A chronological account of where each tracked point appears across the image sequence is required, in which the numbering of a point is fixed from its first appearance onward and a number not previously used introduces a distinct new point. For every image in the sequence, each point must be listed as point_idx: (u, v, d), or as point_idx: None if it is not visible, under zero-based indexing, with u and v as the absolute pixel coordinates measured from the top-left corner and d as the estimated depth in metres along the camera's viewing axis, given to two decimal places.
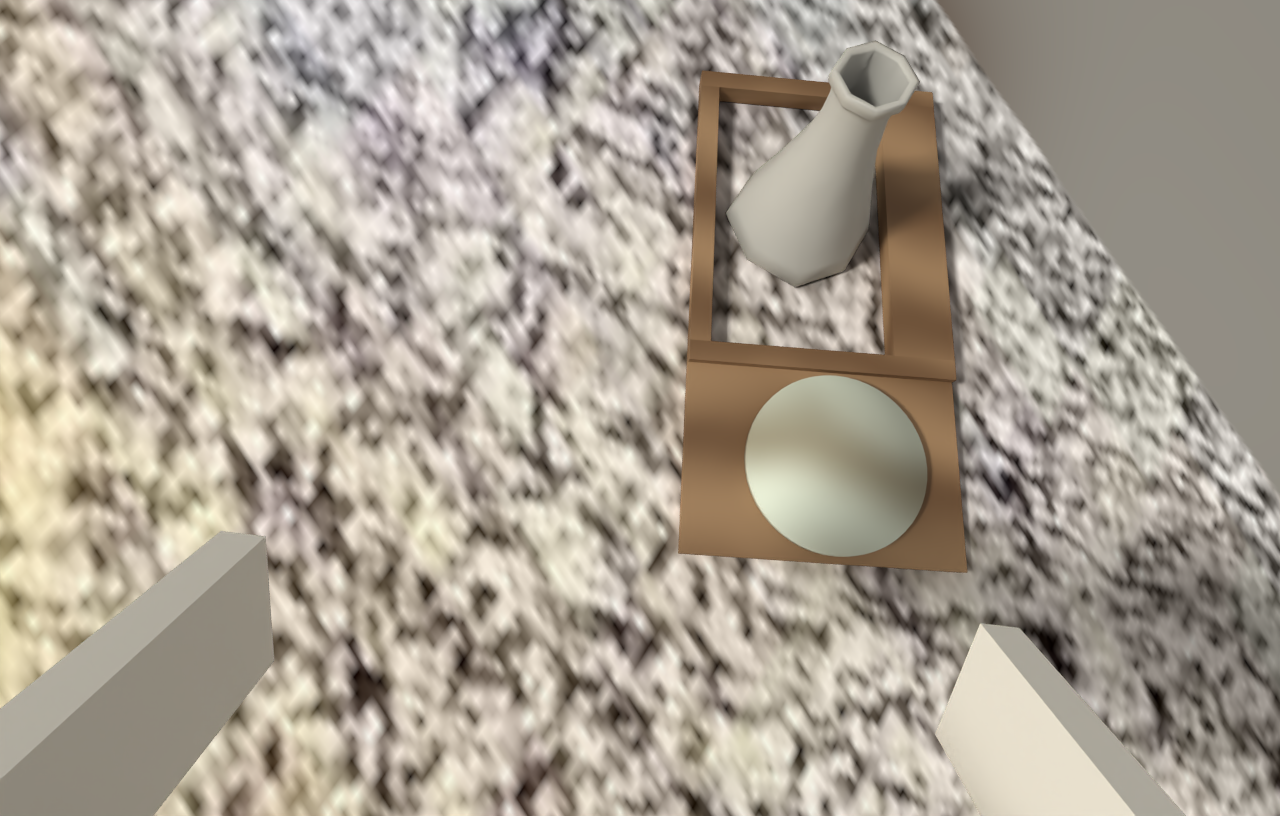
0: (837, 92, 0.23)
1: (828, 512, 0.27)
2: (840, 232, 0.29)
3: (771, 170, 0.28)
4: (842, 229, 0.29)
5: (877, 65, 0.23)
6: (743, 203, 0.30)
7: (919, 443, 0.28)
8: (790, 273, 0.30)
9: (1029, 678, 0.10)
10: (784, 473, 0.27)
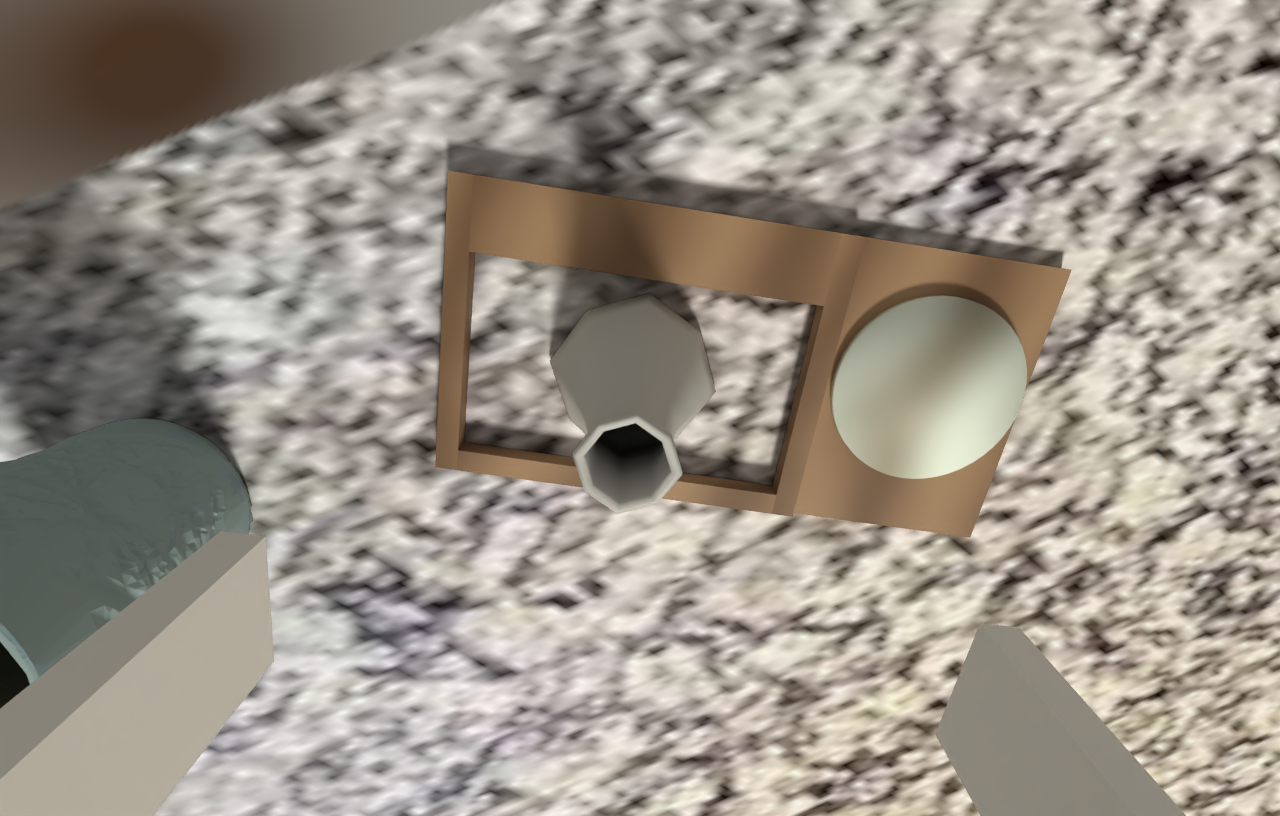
0: (641, 503, 0.19)
1: (976, 409, 0.27)
2: (688, 372, 0.24)
3: (621, 458, 0.24)
4: (687, 371, 0.24)
5: None
6: (625, 452, 0.27)
7: (931, 300, 0.25)
8: (706, 402, 0.27)
9: (1028, 677, 0.10)
10: (927, 445, 0.27)
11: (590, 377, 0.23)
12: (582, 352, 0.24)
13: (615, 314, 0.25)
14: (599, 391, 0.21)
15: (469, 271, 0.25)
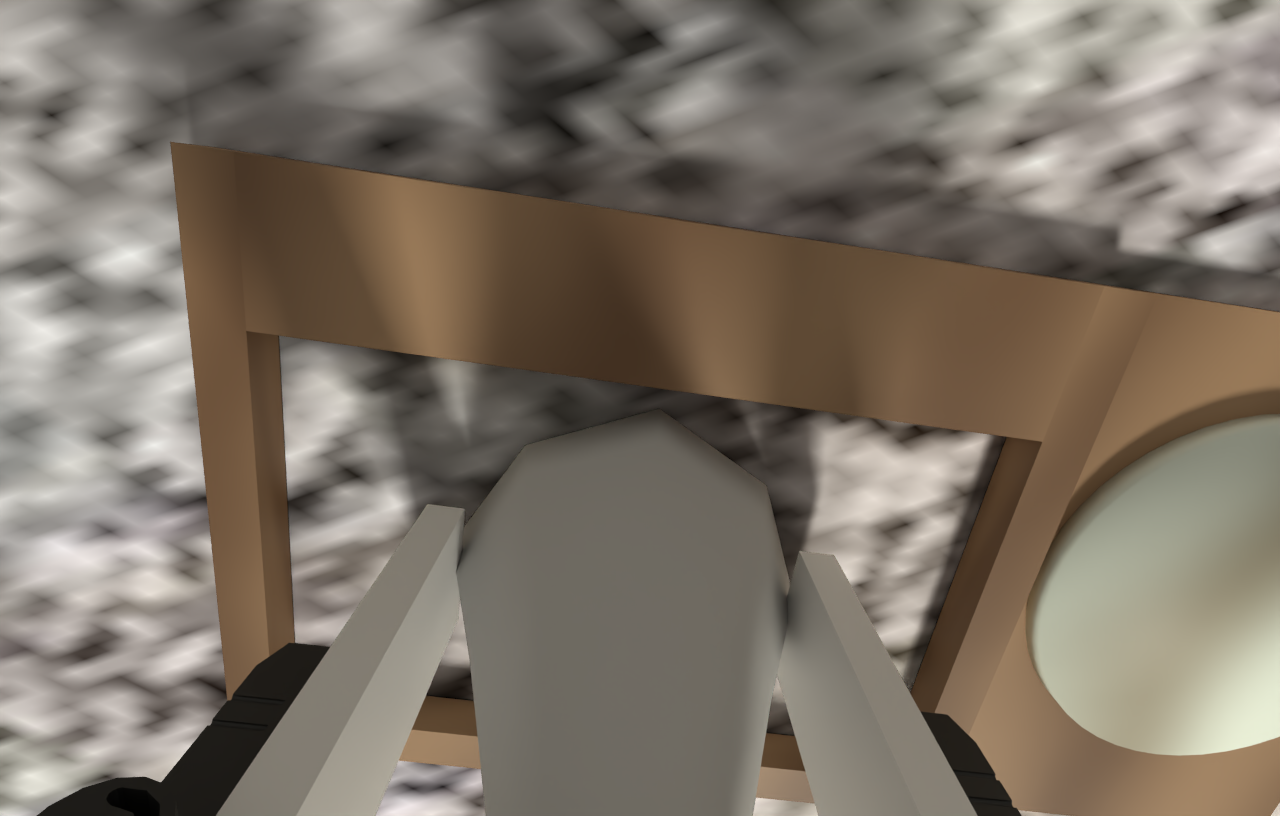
0: None
1: None
2: (754, 611, 0.11)
3: None
4: (751, 612, 0.10)
5: None
6: None
7: None
8: None
9: (821, 590, 0.11)
10: (1218, 699, 0.14)
11: (514, 676, 0.09)
12: (506, 567, 0.11)
13: (584, 464, 0.11)
14: (529, 766, 0.07)
15: (257, 372, 0.11)
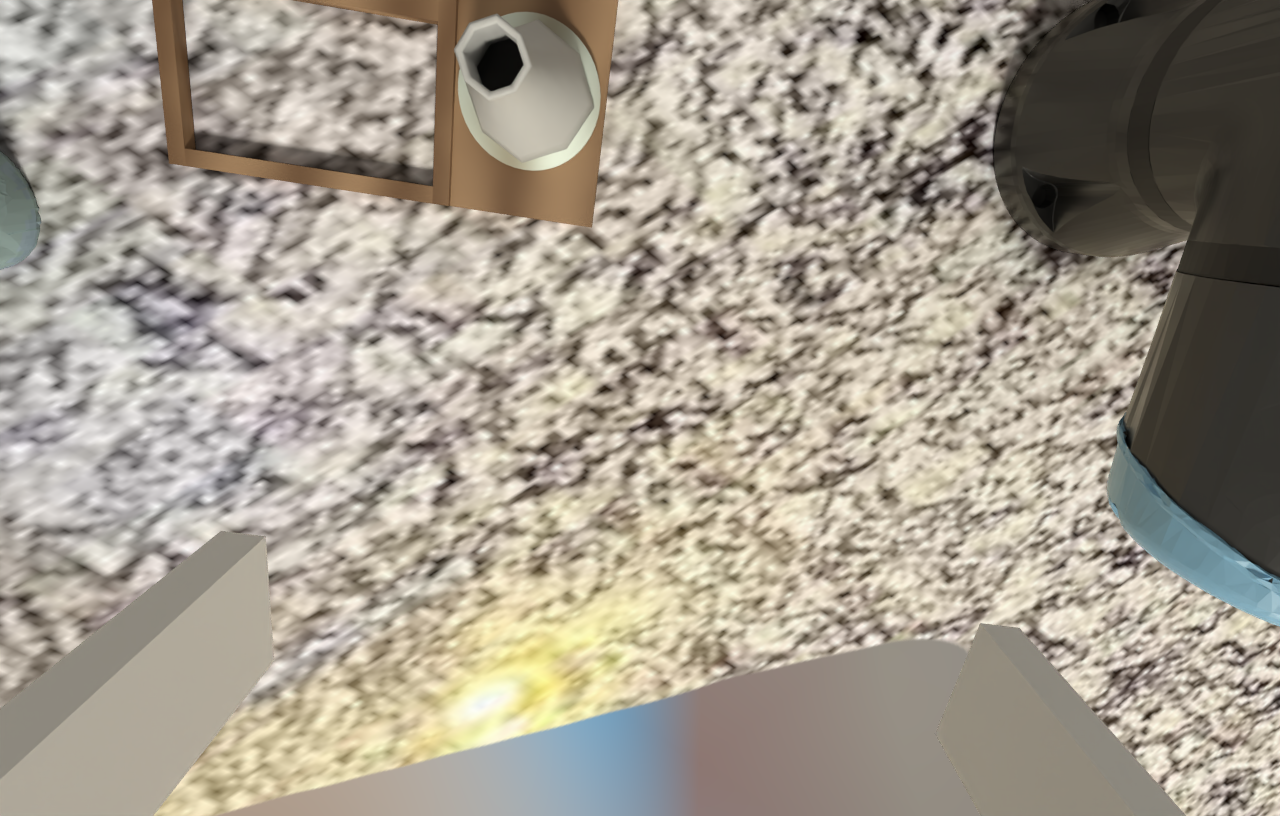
0: (506, 95, 0.27)
1: None
2: (563, 66, 0.32)
3: (513, 131, 0.32)
4: (561, 64, 0.32)
5: (470, 46, 0.27)
6: (523, 150, 0.35)
7: (514, 14, 0.34)
8: (585, 111, 0.35)
9: (1029, 677, 0.10)
10: None
11: None
12: None
13: None
14: (486, 48, 0.29)
15: None
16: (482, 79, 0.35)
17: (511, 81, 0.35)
